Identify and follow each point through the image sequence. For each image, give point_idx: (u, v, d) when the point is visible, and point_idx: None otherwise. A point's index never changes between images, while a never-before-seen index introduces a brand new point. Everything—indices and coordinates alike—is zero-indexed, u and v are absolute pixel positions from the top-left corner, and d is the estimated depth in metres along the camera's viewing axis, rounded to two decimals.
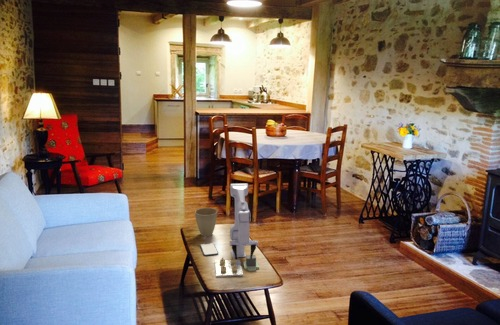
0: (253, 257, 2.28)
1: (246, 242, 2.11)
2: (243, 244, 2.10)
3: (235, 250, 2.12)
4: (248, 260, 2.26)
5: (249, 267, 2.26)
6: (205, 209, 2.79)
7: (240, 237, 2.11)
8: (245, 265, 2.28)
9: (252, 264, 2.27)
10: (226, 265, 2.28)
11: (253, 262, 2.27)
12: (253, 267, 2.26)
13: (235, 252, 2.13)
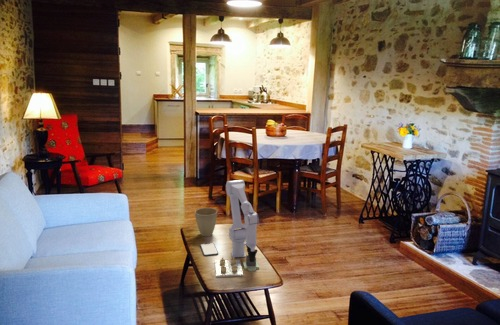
0: None
1: (246, 242, 2.25)
2: (244, 242, 2.26)
3: (246, 246, 2.31)
4: (248, 260, 2.26)
5: (249, 267, 2.26)
6: (205, 209, 2.79)
7: None
8: (245, 265, 2.28)
9: (252, 264, 2.27)
10: (226, 265, 2.28)
11: (253, 262, 2.27)
12: (253, 267, 2.26)
13: (247, 248, 2.32)
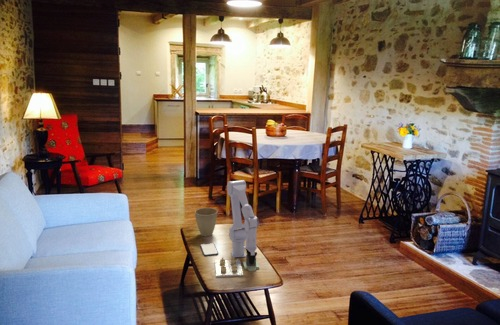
0: None
1: (246, 246, 2.25)
2: (244, 246, 2.27)
3: (246, 250, 2.30)
4: (248, 260, 2.26)
5: (249, 267, 2.26)
6: (205, 209, 2.79)
7: None
8: (245, 265, 2.28)
9: (252, 264, 2.27)
10: (226, 265, 2.28)
11: None
12: (253, 267, 2.26)
13: None
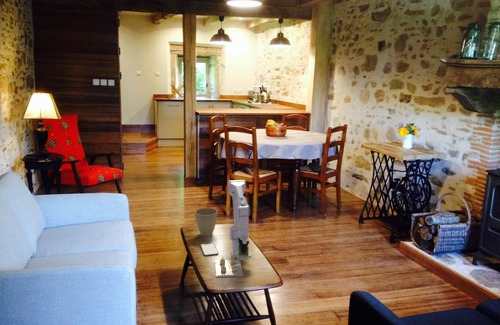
0: None
1: (238, 235, 2.23)
2: (236, 235, 2.24)
3: (238, 239, 2.28)
4: (240, 249, 2.24)
5: (241, 256, 2.23)
6: (205, 209, 2.79)
7: None
8: (237, 254, 2.25)
9: (244, 253, 2.25)
10: (226, 265, 2.28)
11: (246, 250, 2.24)
12: (246, 256, 2.23)
13: None
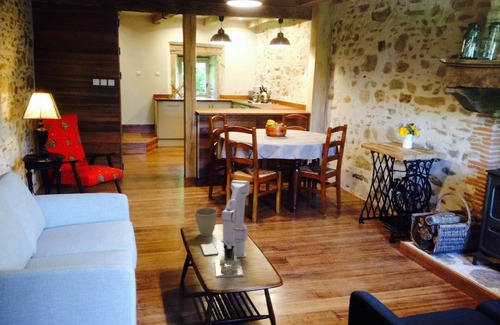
0: None
1: (223, 239, 2.21)
2: (222, 239, 2.23)
3: (224, 244, 2.26)
4: None
5: (227, 261, 2.21)
6: (205, 209, 2.79)
7: None
8: (223, 259, 2.24)
9: (230, 258, 2.23)
10: (226, 265, 2.28)
11: (231, 255, 2.23)
12: (231, 261, 2.21)
13: None
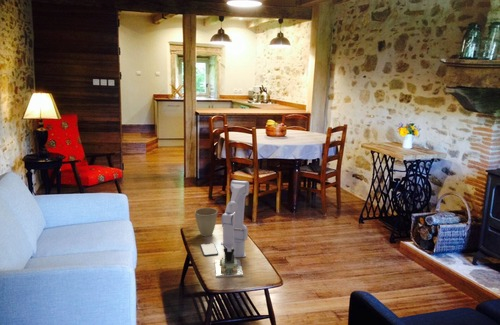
0: None
1: (223, 242, 2.21)
2: (222, 243, 2.23)
3: None
4: None
5: (227, 264, 2.22)
6: (205, 209, 2.79)
7: None
8: (223, 262, 2.24)
9: None
10: None
11: (231, 259, 2.23)
12: (231, 264, 2.22)
13: (224, 249, 2.27)
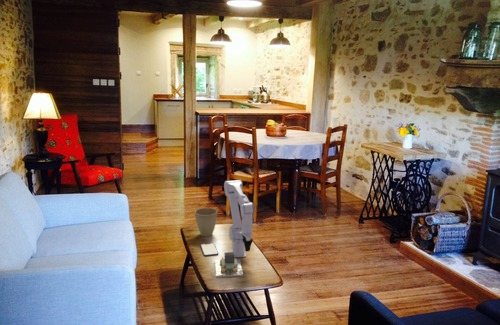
0: (231, 254, 2.24)
1: (242, 232, 2.26)
2: (240, 232, 2.27)
3: (242, 235, 2.32)
4: (226, 257, 2.22)
5: (227, 264, 2.22)
6: (205, 209, 2.79)
7: None
8: (223, 262, 2.24)
9: (230, 261, 2.23)
10: None
11: (231, 259, 2.23)
12: (231, 264, 2.22)
13: (243, 238, 2.32)
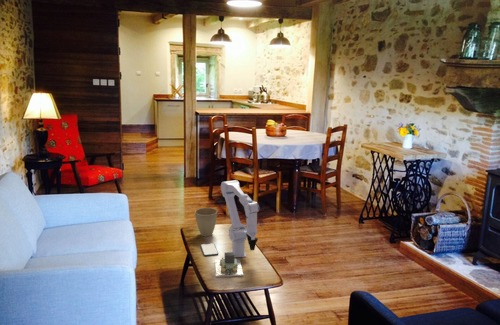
0: (231, 254, 2.24)
1: (247, 231, 2.27)
2: (245, 231, 2.28)
3: (246, 235, 2.33)
4: (226, 257, 2.22)
5: (227, 264, 2.22)
6: (205, 209, 2.79)
7: None
8: (223, 262, 2.24)
9: (230, 261, 2.23)
10: None
11: (231, 259, 2.23)
12: (231, 264, 2.22)
13: (247, 237, 2.33)
